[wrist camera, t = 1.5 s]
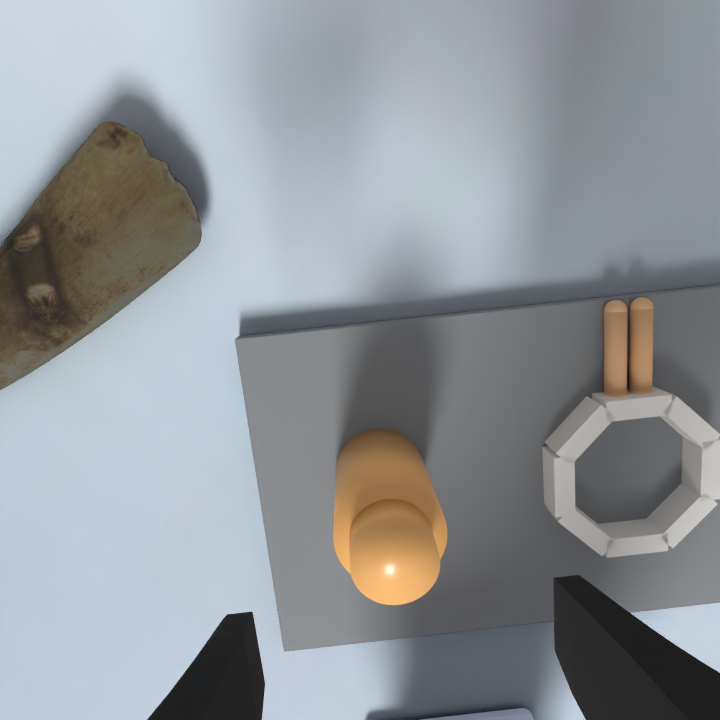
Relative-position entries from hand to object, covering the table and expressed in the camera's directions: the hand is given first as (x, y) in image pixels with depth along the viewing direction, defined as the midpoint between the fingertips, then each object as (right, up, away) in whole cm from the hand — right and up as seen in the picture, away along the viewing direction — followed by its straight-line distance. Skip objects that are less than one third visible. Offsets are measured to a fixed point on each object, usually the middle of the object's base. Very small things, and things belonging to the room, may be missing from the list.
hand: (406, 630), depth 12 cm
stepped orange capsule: (0, +2, +9) cm, 9 cm away
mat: (+5, +2, +10) cm, 11 cm away
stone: (-13, +10, +8) cm, 18 cm away
